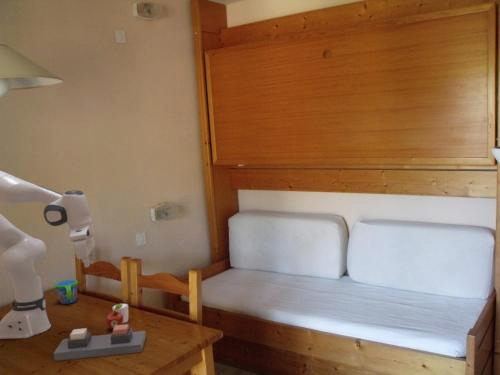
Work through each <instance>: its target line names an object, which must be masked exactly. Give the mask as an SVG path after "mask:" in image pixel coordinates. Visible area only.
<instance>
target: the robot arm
mask: <svg viewBox="0 0 500 375" xmlns="http://www.w3.org/2000/svg"><path fill="white" fill-rule="evenodd" d="M0 201H1V202H3V203H6V204H10V205H17V204H24V203H33V202H34V203H42V204H45V205H46V206H45V207H44V209H43V217H44V220H45V222H46V223H47V224H48V225H50V226H51V227H52V226H53V227H59V226H62V225H65V224H68V225H69V233H70V234H69V240H70V242H72V247H73V249H74V253H75V256H76V258H77V260H81V261H82V263H83V265H84V268H89V267H90V265H91V264H90V261H94V259H95V255H94V254H95V253H94V248H95V246H96V240H95V239H96V238H95V237H94V236H95V235H94V233H95V228H94V225H93V220H92V218H91V216H90V212H91V211H90V206H89V202H88V199H87V196H86V194H85V193H84V191H81V190H78V189H77V190H76V189H74V190H68V191H65V192H63V194H62V193H61V192H57V191H55V190H52V189H49V188H47V187H44V186H41V185H38V184H35V183H32V182H29V181H27V180H23V179H22V178H19V177H17V176H15V175H12V174H10V173H8V172H5V171H3V170H0ZM0 248H2V249H4V252H3V253H2V254H1V255H0V266H1V268H2V269H3V270H4V271H5V272H7V274H8V275H9V277H10V278H11V283H12V284H13V289H14V290H13V291H14V299H13V301H12V302H11V303H10V308H11V310H10V311H9V312H8V313H6V314H5V315H4V316H3V317H2V319H1V320H0V340H3V339H28V338H31V337H33V336H35V335H39V334H41V333H44V332H46V331H48V330H49V329H51V327H52V324H51V323H50V320H49V318H48V314H47V310H46V309H47V307H46V306H47V305H46V303H47V302H46V299H45V295H44V290H43V283H42V278H41V276H39V275H38V274H37V272H36V269H35V267H34V265H35V264H37V263H38V262H40V261H41V260H42V259H43V257H45V254H46V252H47V247H46V244H45V243H44V241H43V240H41V239H39V238H36V237H33V236H31V235H29V234H28V233H25V231H22V230H21V229H19V228H18V227H16V226H15V225H14V224H12V223H11V222H10V221H9V220H8V219H7V218H6V217H5V216H4V215H2V213H0Z"/></svg>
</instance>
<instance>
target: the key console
mask: <svg viewBox="0 0 500 375" xmlns="http://www.w3.org/2000/svg"><path fill="white" fill-rule="evenodd" d="M145 338H147V337H146V331H145V330H140V331H133V327H129V332H128V334H127V335H117V336H114V335H113V331H112V333H110V334H109V333H108V334H101V335H100V334H99V335H92V334H91V331H87V336H86V338H85V339H76V340H71V338H70V337H69V338H63V339H62V340H61V341H60V343H59V345H58V346H57V348H56V349H55V350H54V352H53V360H54V362H57V361H58V362H60V361H67V360H69V361H70V360H79V359H88V358H96V357H109V356H118V355H127V354H136V353H137V354H139V353H142V352H143V348H144V345H145V341H146V339H145Z"/></svg>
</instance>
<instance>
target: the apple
mask: <svg viewBox="0 0 500 375" xmlns="http://www.w3.org/2000/svg"><path fill="white" fill-rule="evenodd" d="M122 304H123V303H117V304H115V305H116V306H115V310H117V309H119V308H121V307H122V306H123V305H122ZM115 310H114V312H113V311H112V312H110V313H109V314H107V316H106V318H105V319H106V324H107V325H108V327H109V328H110V329H111V330H113V329H114V327H115V325H123V323H122V322H123V315H122V314H121V313H120V312H115Z"/></svg>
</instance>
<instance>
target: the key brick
mask: <svg viewBox="0 0 500 375" xmlns="http://www.w3.org/2000/svg"><path fill="white" fill-rule="evenodd" d="M129 328H130V327H129V323H126V324H125V323H123V324H121V325H115V327H114V329H112V332H113V335H114V336H117V335H127V334H128V332H129Z"/></svg>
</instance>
